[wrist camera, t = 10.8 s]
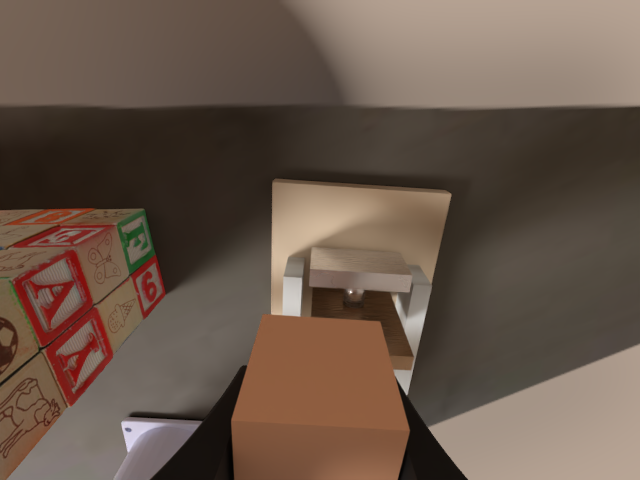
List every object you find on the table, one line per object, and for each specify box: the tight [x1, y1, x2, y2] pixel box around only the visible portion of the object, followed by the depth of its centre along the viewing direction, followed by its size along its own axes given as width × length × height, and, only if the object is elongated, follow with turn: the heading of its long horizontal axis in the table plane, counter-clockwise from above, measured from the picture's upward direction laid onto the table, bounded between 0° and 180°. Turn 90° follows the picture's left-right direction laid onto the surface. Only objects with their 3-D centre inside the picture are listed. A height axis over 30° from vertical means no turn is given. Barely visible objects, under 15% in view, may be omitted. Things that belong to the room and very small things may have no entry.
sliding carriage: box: [309, 247, 414, 371], centre depth 17 cm, size 4×5×6 cm
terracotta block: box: [231, 314, 410, 480], centre depth 11 cm, size 4×4×4 cm
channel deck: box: [271, 179, 452, 395], centre depth 20 cm, size 16×10×4 cm, turn 176°
